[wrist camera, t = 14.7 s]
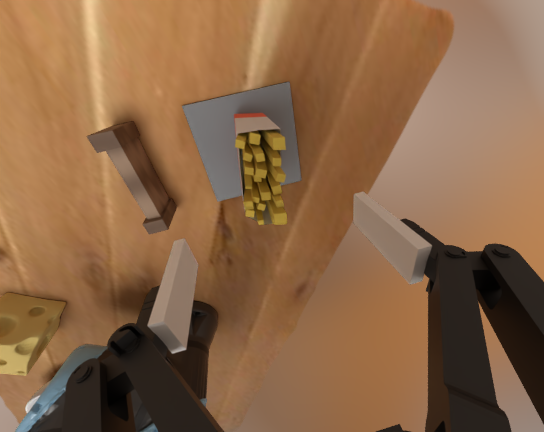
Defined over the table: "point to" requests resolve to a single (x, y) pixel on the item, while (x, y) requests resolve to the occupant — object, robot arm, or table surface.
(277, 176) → the french fries container
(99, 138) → the walnut fence
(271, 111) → the slate mat
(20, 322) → the cheese
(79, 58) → the table surface
